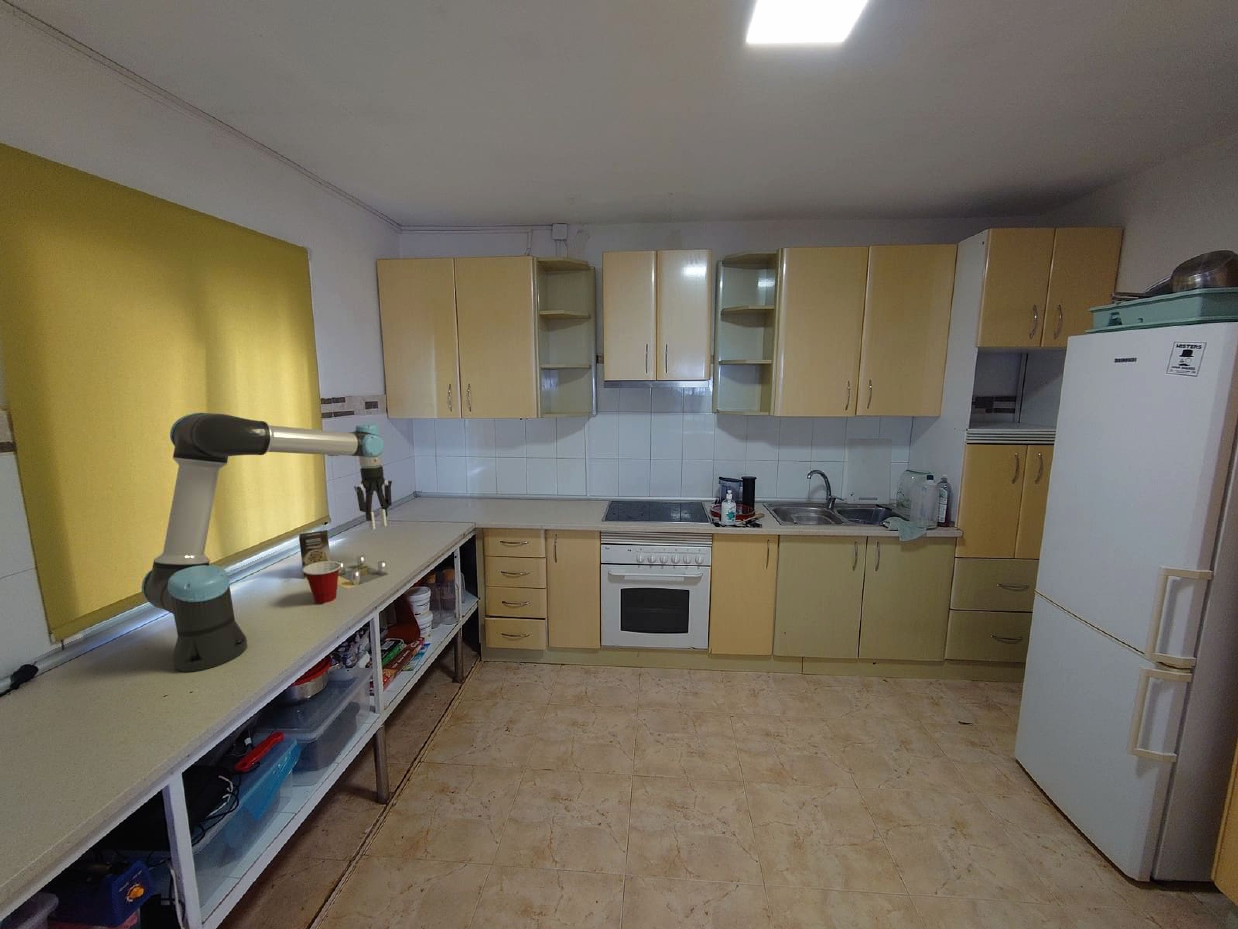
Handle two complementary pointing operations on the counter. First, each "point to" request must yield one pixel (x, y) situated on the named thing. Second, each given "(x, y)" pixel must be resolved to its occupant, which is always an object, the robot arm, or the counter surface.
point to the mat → (374, 574)
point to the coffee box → (314, 548)
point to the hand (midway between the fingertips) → (378, 527)
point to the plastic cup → (323, 580)
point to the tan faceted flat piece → (364, 570)
